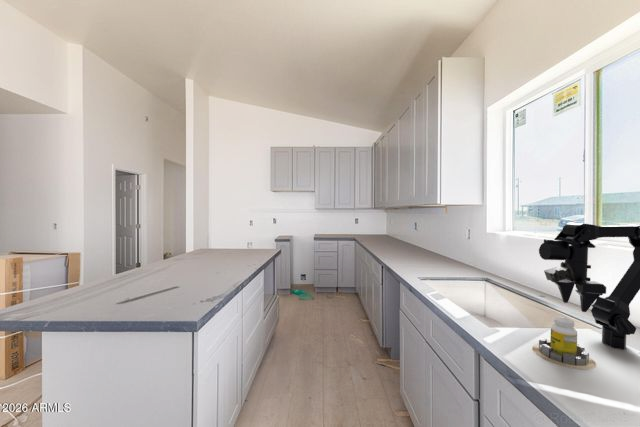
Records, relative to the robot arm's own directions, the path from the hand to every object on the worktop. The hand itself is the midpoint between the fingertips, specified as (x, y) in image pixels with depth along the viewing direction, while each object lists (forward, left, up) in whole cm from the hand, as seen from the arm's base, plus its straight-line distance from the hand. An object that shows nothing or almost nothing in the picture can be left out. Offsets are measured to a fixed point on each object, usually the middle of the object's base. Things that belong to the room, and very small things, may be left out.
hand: (574, 307), depth 98 cm
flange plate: (+13, -6, -13) cm, 19 cm away
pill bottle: (+13, -6, -12) cm, 19 cm away
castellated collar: (+13, -6, -12) cm, 19 cm away
